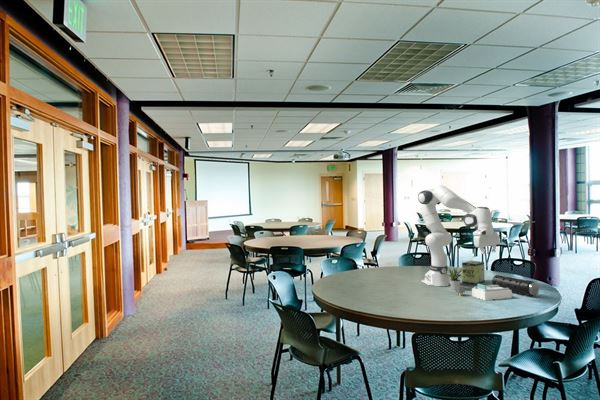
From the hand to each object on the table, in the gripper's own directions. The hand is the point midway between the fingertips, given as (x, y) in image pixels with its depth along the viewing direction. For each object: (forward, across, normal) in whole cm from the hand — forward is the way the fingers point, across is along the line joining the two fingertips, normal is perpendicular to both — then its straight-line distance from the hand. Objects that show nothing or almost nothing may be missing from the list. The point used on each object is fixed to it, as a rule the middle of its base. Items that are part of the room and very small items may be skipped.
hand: (488, 253), depth 248 cm
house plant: (+26, +1, -30) cm, 39 cm away
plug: (+27, +12, -16) cm, 34 cm away
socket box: (+29, -2, -4) cm, 29 cm away
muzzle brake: (+30, -24, -3) cm, 38 cm away
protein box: (+26, -27, -39) cm, 54 cm away
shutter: (+23, +2, -4) cm, 24 cm away
